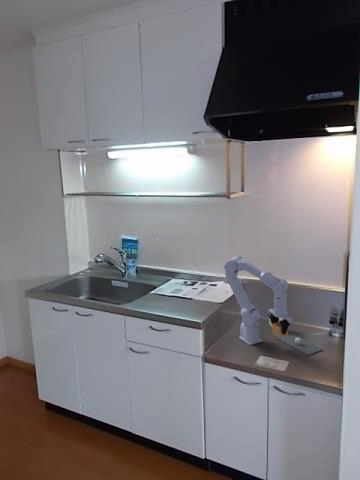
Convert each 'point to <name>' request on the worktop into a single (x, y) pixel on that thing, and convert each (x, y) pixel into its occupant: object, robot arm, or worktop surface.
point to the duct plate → (302, 347)
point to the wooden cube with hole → (278, 330)
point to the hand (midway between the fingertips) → (279, 331)
